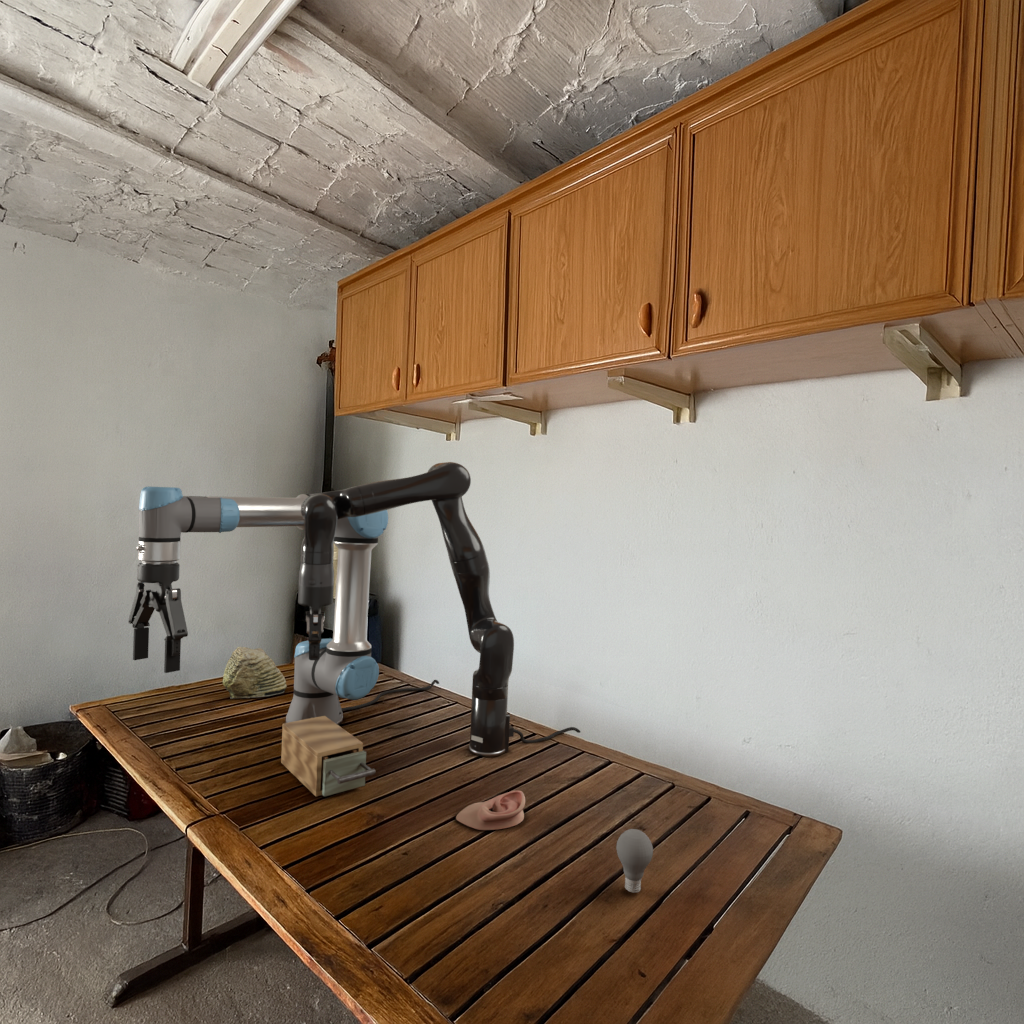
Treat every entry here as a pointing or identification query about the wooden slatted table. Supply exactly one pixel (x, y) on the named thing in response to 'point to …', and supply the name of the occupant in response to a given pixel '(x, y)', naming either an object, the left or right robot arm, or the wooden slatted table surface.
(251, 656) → the fossil
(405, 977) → the wooden slatted table surface
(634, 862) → the light bulb
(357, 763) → the drawer
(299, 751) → the cabinet
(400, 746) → the wooden slatted table surface
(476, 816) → the anatomical model
